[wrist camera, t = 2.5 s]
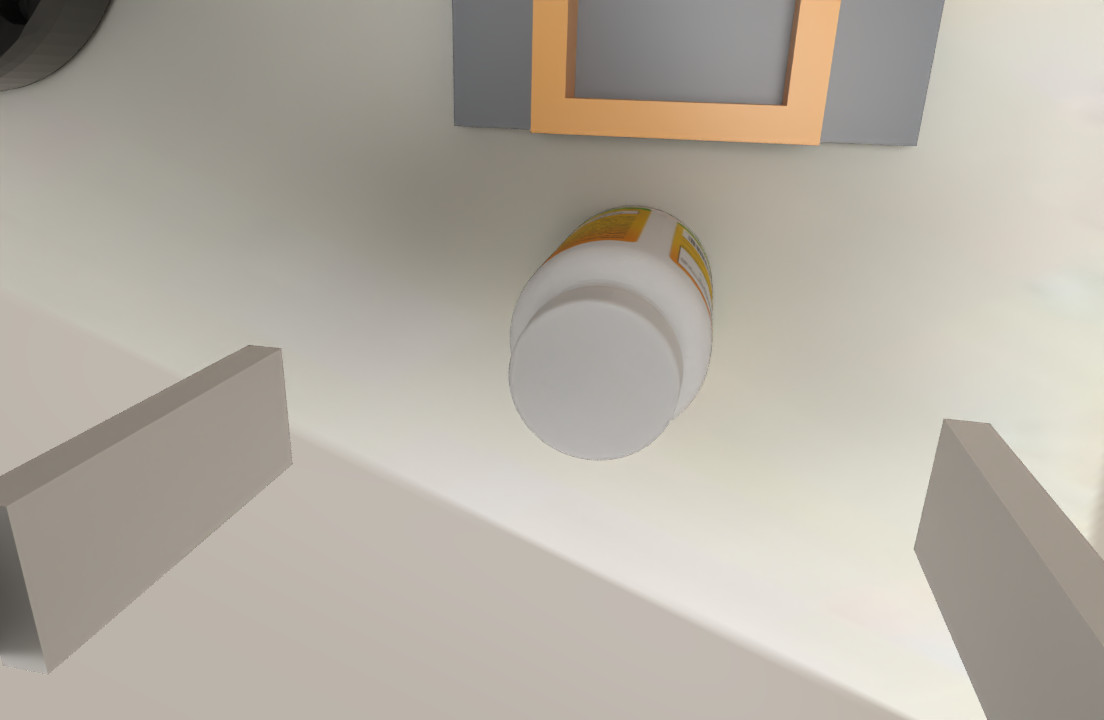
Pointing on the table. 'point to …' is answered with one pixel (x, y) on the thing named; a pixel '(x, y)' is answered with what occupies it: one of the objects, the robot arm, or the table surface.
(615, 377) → the supplement bottle
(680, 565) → the table surface
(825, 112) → the orange bottle caddy
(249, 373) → the robot arm
